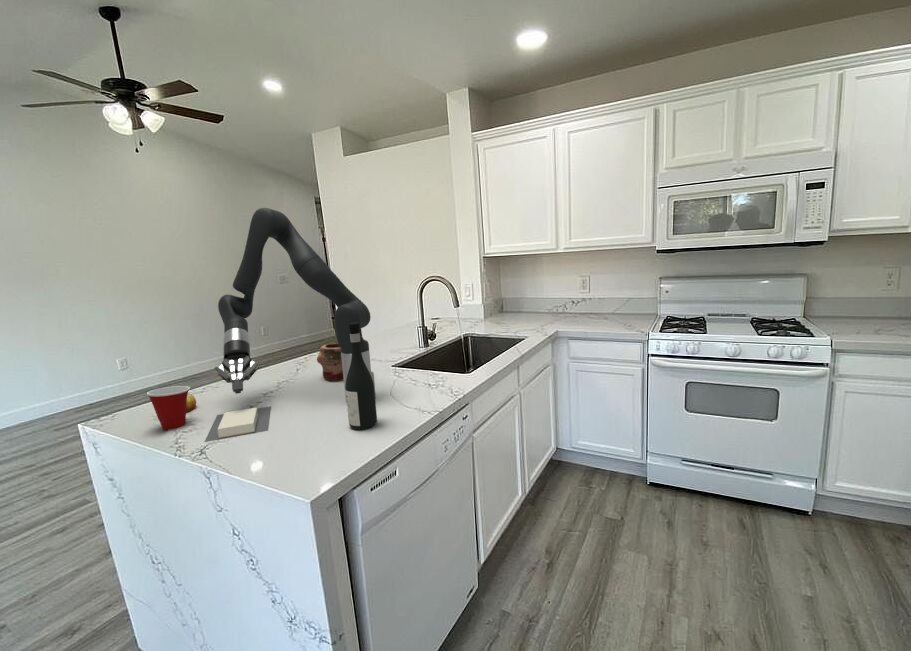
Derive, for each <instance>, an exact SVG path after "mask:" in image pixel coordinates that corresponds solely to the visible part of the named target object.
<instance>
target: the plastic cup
mask: <svg viewBox="0 0 911 651" xmlns="http://www.w3.org/2000/svg"><path fill="white" fill-rule="evenodd" d="M190 390H191V386H188V385H187V386H186V385H175V386H167V387H159V388H156V389H152V390H150V391H147V393H146V395H147V396H148V398H149V400H150V402H151V404H152V407H153V409H154V411H155V414H156V417H157V419H158V421H159V423H160V426H161V428H162V429H163V431H167V432H168V431H169V430H173V429H177V428H180V427H183V426H184V425H185V424H186V423H187V421H186V420H187V418H186V416H187V413H186V406H187V395H188V393H189V391H190Z"/></svg>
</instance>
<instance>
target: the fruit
mask: <svg viewBox="0 0 911 651" xmlns="http://www.w3.org/2000/svg"><path fill="white" fill-rule="evenodd" d="M196 406H197V400H196V398H195V396H194V395H193V394H192V393H189V392H188V395H187V406H186V414H187V413H188V412H190V411H193V410H194V409H195V408H196Z"/></svg>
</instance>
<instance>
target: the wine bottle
mask: <svg viewBox="0 0 911 651" xmlns="http://www.w3.org/2000/svg"><path fill="white" fill-rule="evenodd" d="M348 327H349V331H350V340H351V350H352V359H351V364H350V368H349V371H348V374H347V378H346V386H345V388H344V391H345V390H346V397H345V401H346V400H347V403H346V407H347V418H348V425H349V427H350V428H352V429H354V430H360V431H361V430H366V429H367V430H368V429H371V428H372V427H374V426H375V425H377V424H376V423H377V422H378V417H377V416H378V414H377V404H376V399H375V394H376V389H375V390H374V383H375V382H374V383H373V380H372V377H371V375H370V372H369V370H368V369H367V367H366V365H365V363H364V360H363V357H362V353H361V343H360V331H359V330H360V324H359V323H358V322H354V323H349V324H348Z"/></svg>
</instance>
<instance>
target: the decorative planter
mask: <svg viewBox="0 0 911 651" xmlns="http://www.w3.org/2000/svg"><path fill="white" fill-rule="evenodd" d="M317 354H318V355H317V358H316V361H317V363H318V364H319V365H321V367H322V376H323V379H324V381H327V382H334V383H335V382H340V381H344V378H343V368H342V357H341V349H340V346H339V344H338V342H337V343H336V342H335V343H328V344H324V345H322V346H320V348H319V351H318V353H317Z"/></svg>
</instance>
